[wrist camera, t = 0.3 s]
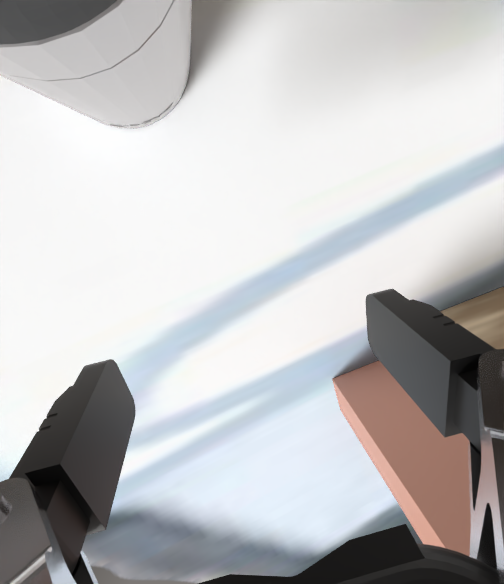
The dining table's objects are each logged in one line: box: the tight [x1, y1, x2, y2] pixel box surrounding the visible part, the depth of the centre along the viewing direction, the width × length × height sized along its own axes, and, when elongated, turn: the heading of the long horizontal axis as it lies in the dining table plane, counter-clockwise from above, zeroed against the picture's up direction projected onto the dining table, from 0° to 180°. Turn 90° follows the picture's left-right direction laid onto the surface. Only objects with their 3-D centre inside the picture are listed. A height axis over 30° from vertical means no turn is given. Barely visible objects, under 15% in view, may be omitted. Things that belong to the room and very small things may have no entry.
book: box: [332, 360, 471, 556], centre depth 28 cm, size 5×14×18 cm, turn 108°
